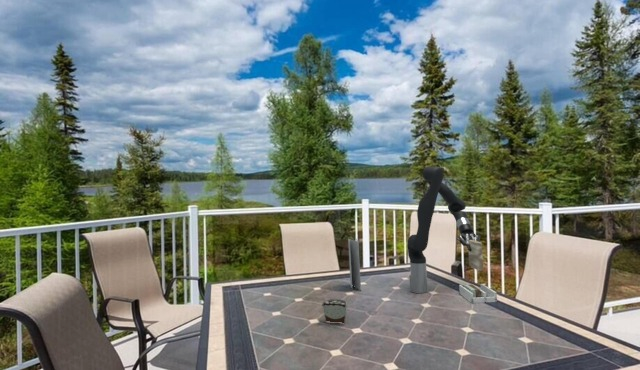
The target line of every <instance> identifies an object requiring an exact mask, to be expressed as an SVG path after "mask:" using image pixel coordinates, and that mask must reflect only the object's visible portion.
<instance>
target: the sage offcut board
mask: <svg viewBox="0 0 640 370" xmlns="http://www.w3.org/2000/svg"><path fill="white" fill-rule="evenodd" d="M469 285H470V284H464V286H463V287H465V288H466V289H467V290H469V291H470V292H472V293H473V298H476V291H475V289H474V288H472V287H471V286H469Z"/></svg>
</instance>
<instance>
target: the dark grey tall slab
mask: <svg viewBox="0 0 640 370" xmlns="http://www.w3.org/2000/svg"><path fill="white" fill-rule="evenodd" d="M355 239H356V240H354V239H350V238H348V241H347V243H348V244H347V245H348V261H349V280H350V281H349V282H350V289H351V288H352V289H353V286H355V287H356V288H358V289H359V290H358V289H357V290H358V291H360V290H361V291H362V286H361V265H360V263H361V262H360V246H359V245H360V243H359V240H358V238H355ZM352 285H353V286H352ZM355 287H354V288H355ZM356 288H355V289H356Z"/></svg>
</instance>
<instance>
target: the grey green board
mask: <svg viewBox="0 0 640 370" xmlns="http://www.w3.org/2000/svg"><path fill="white" fill-rule="evenodd" d="M469 244H470V246H471V249H472V250H471V252H470V251H469V250H468V249H467V251H468V266H469V267H471V268H473V269H475V270H476V271H484V258H483V257H484V254H483V243H482V242H481V241H480V242H478V241H477V240H476V239H475V240H469Z"/></svg>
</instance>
